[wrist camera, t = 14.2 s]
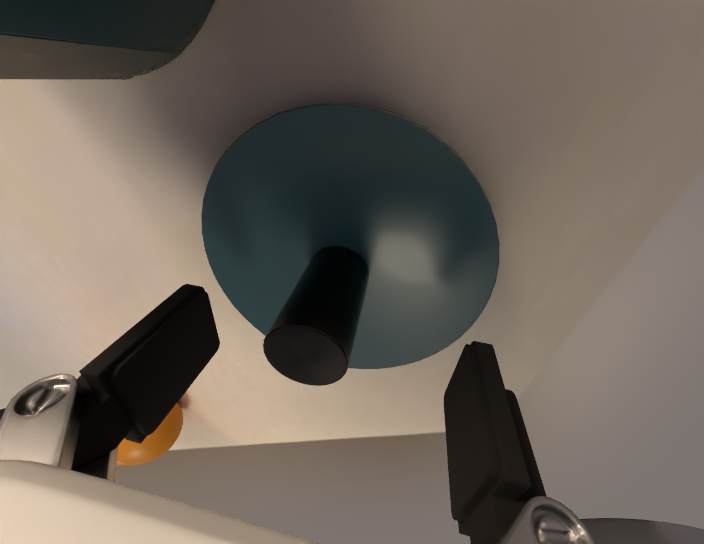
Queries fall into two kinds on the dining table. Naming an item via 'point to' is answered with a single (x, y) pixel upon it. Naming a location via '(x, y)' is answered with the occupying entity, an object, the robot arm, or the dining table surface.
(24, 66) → the pot
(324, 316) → the lid
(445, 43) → the dining table surface
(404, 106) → the dining table surface
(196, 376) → the robot arm
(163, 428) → the orange ribbed oval piece
